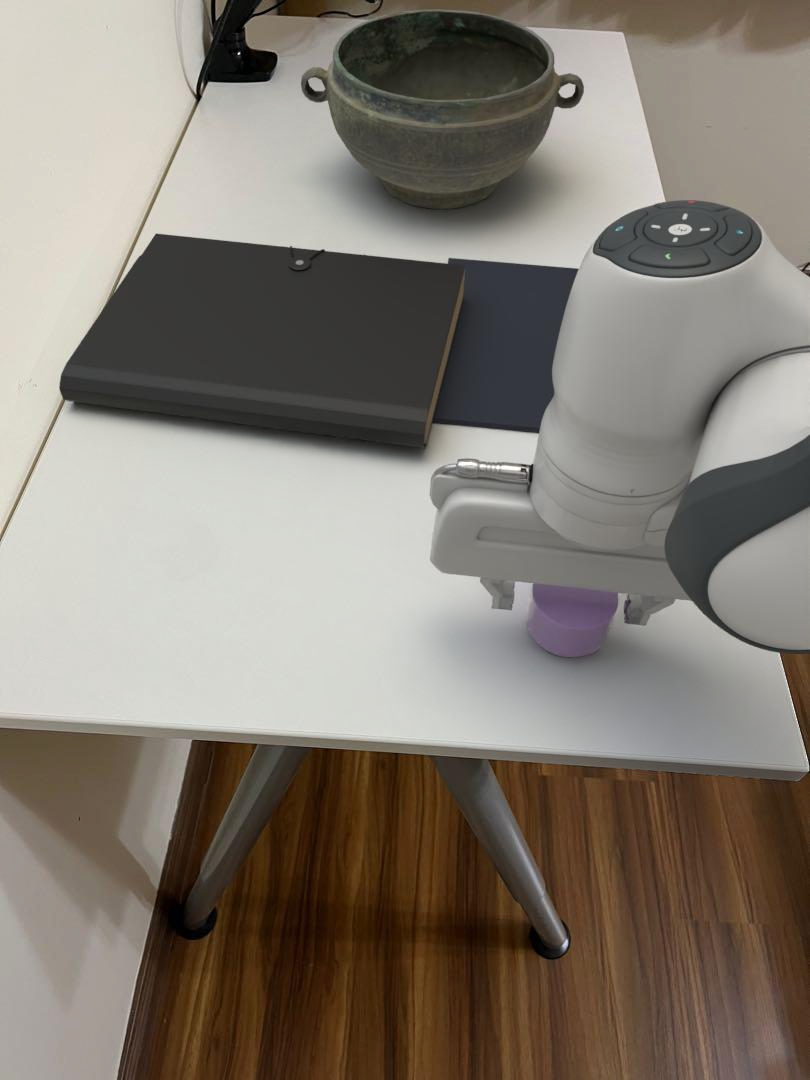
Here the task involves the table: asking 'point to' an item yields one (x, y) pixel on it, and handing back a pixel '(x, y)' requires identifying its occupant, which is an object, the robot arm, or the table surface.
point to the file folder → (274, 339)
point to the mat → (504, 345)
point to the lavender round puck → (570, 618)
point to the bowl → (441, 101)
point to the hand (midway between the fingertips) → (567, 609)
